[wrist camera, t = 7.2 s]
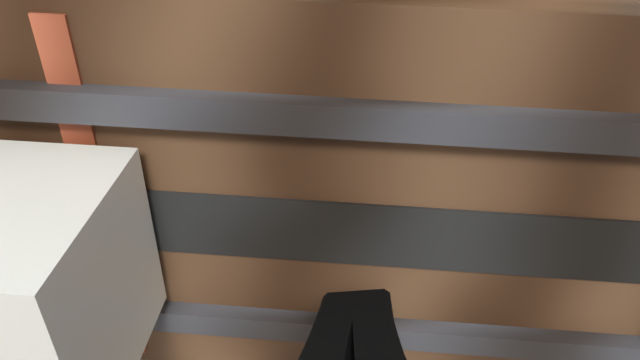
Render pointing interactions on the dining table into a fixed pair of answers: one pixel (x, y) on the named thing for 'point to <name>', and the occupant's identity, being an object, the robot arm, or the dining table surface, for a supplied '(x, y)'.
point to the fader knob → (76, 253)
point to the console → (360, 162)
